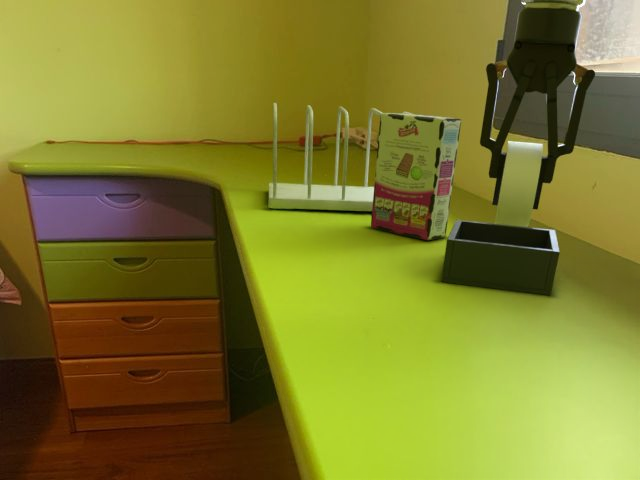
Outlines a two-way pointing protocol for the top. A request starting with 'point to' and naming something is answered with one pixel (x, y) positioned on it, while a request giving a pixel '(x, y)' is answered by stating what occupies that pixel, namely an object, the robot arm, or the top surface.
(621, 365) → the top surface
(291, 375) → the top surface
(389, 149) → the candy bar box
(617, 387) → the top surface
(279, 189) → the file sorter
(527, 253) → the tote
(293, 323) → the top surface
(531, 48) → the robot arm
